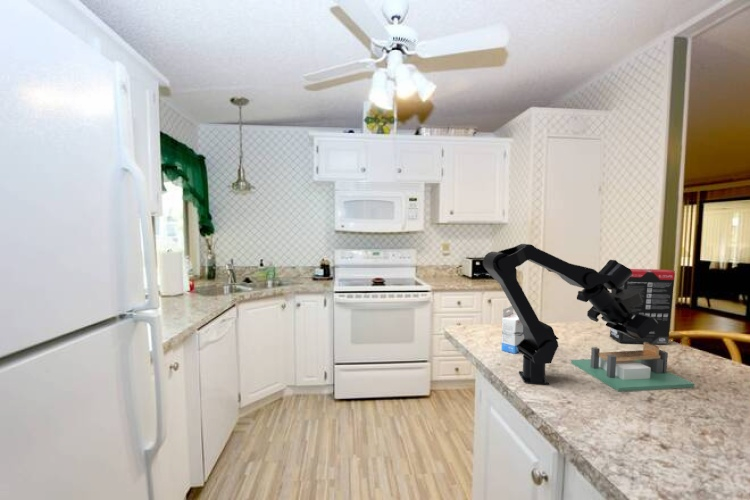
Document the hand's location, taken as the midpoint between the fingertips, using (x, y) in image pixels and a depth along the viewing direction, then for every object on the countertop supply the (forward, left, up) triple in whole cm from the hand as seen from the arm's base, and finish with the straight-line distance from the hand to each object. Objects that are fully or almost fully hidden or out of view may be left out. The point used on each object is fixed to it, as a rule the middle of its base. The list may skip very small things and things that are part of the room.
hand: (636, 337), depth 96 cm
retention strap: (-1, +2, -6) cm, 6 cm away
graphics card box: (+30, -18, -11) cm, 37 cm away
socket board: (-1, +2, -11) cm, 11 cm away
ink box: (+15, +30, -11) cm, 35 cm away
